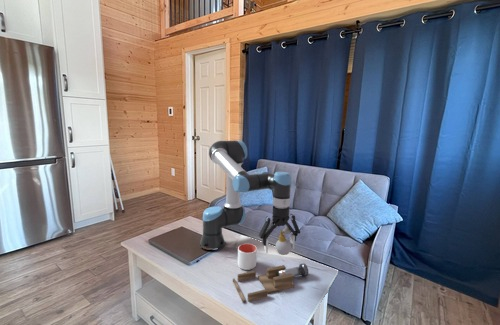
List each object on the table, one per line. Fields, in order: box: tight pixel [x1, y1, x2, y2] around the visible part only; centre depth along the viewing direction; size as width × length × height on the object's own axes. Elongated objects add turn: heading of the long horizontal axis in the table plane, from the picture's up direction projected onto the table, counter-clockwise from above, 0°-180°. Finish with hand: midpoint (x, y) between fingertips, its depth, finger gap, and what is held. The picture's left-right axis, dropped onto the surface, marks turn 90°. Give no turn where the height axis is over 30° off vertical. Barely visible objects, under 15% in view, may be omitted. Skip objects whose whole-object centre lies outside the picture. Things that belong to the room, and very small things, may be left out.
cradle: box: [232, 264, 295, 304], centre depth 111 cm, size 15×26×5 cm, turn 111°
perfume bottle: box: [275, 225, 292, 256], centre depth 113 cm, size 8×10×12 cm
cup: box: [237, 243, 258, 271], centre depth 126 cm, size 10×10×10 cm
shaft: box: [277, 262, 309, 278], centre depth 117 cm, size 6×15×6 cm, turn 111°
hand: (279, 249), depth 111 cm, fingers open, 13 cm apart
